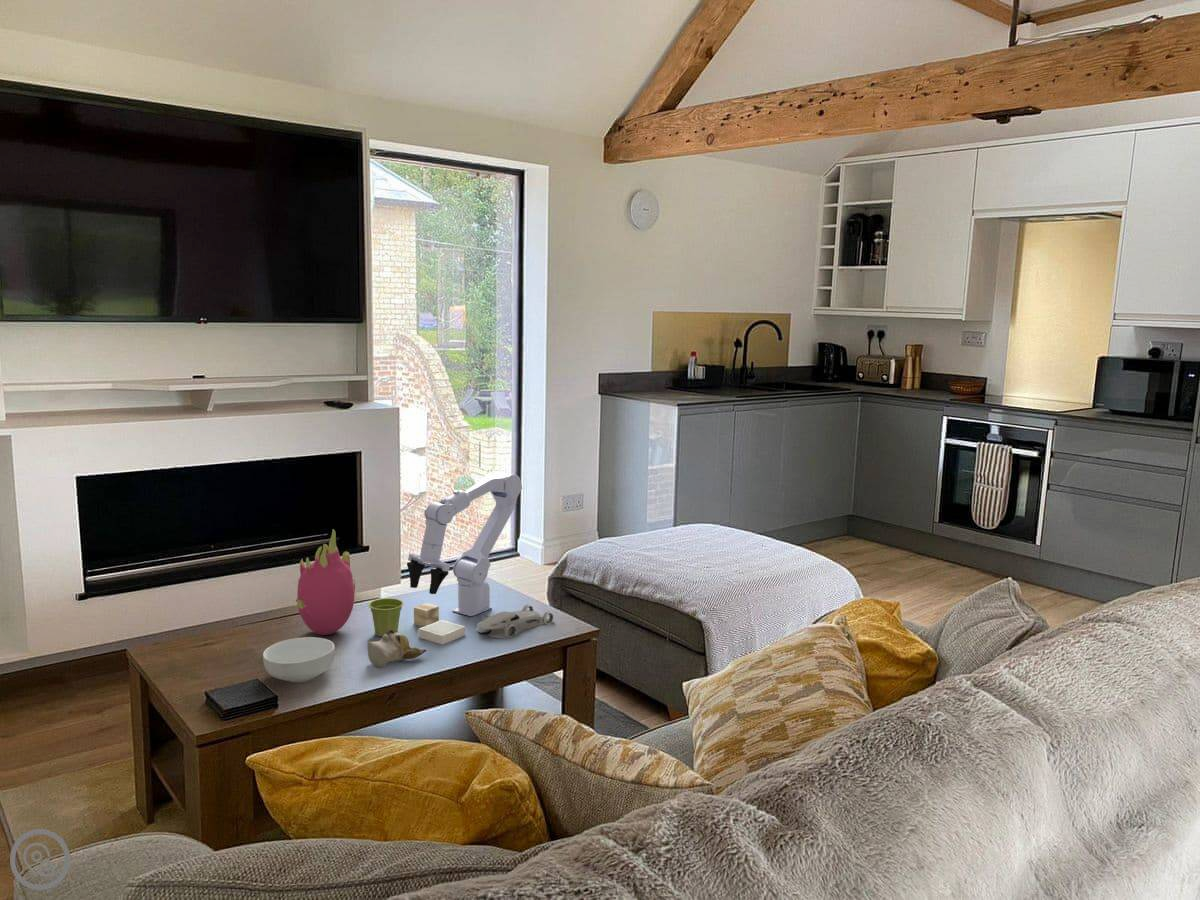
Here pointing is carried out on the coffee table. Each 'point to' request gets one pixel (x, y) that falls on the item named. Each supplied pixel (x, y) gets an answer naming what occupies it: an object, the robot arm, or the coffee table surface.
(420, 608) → the maple cube
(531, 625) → the car model
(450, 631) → the cream square tray
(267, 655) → the cereal bowl
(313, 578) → the pink dragon fruit
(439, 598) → the coffee table surface
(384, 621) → the plant pot
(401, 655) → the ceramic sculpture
